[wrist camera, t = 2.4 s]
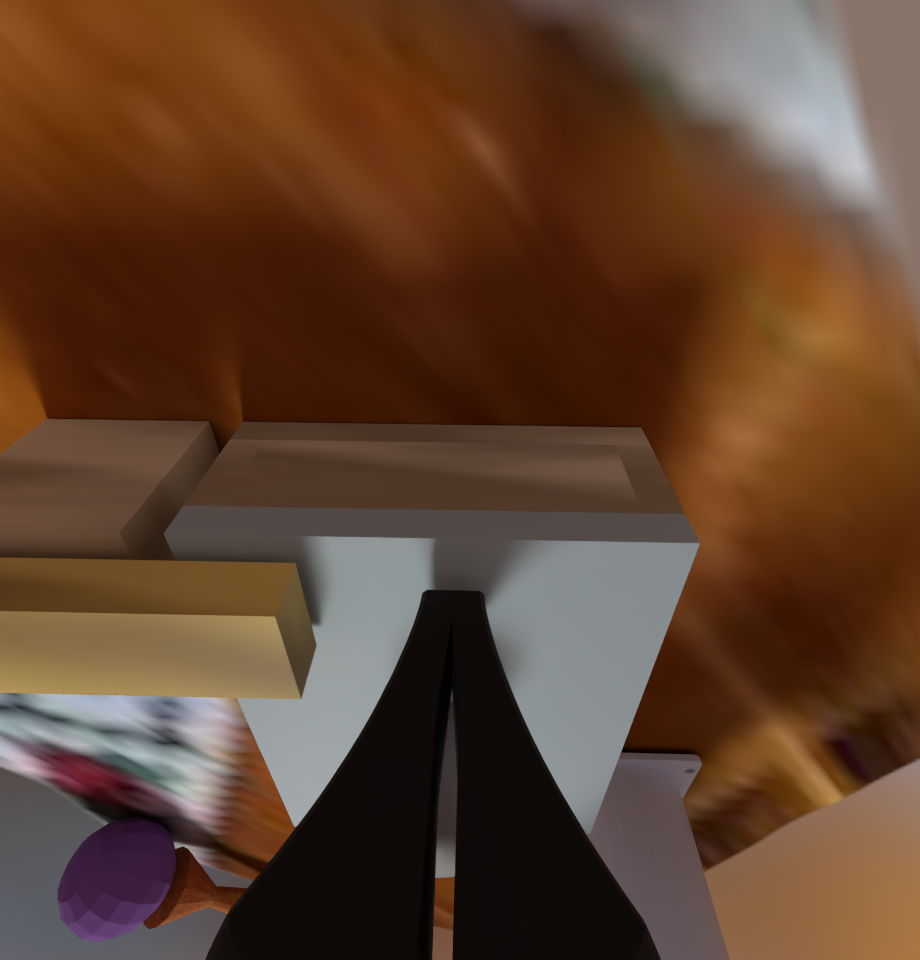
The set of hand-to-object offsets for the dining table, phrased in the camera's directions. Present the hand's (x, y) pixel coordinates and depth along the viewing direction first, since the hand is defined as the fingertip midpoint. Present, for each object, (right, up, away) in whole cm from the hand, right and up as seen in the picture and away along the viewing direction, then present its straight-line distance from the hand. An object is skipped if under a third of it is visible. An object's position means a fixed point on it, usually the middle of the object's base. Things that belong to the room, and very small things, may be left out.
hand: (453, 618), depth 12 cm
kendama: (-16, -24, +25) cm, 38 cm away
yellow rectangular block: (-9, 0, 0) cm, 9 cm away
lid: (-1, -3, +6) cm, 7 cm away
